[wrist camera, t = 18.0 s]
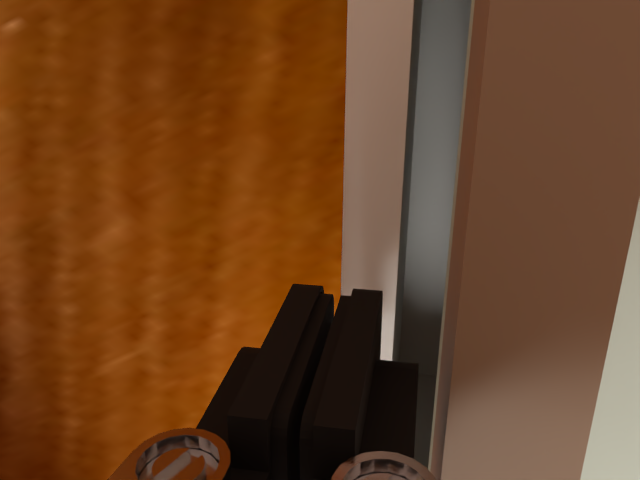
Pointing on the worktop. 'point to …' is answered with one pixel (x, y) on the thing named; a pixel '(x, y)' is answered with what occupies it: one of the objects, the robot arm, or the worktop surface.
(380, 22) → the toolbox
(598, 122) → the toolbox lid
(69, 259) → the worktop surface
